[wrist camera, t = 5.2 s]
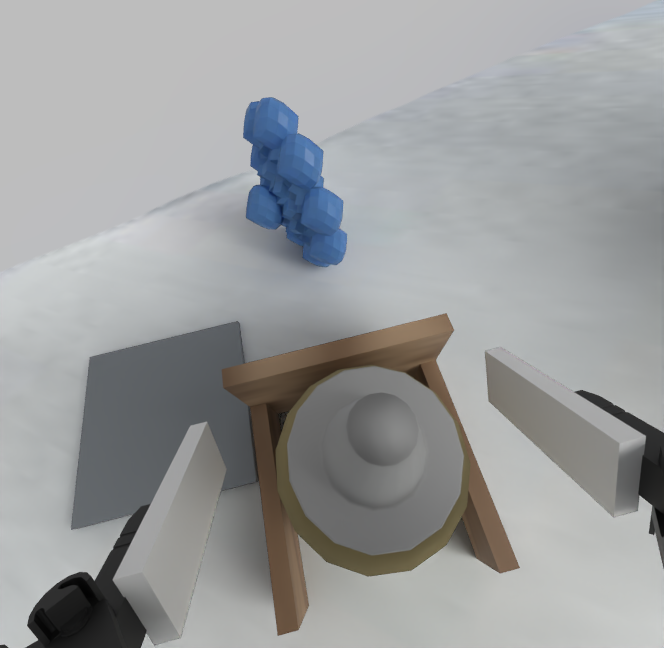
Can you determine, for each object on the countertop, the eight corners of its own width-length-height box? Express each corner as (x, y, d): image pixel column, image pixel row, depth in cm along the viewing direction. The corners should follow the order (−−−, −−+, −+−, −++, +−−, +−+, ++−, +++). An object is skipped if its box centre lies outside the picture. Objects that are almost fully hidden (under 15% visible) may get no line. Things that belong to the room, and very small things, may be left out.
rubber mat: (239, 324, 27) (237, 321, 26) (258, 481, 22) (256, 481, 21) (94, 359, 26) (89, 357, 26) (77, 528, 21) (71, 529, 21)
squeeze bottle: (279, 464, 22) (60, 408, 6) (366, 385, 24) (382, 179, 8) (362, 578, 19) (380, 1116, 3) (454, 476, 21) (778, 451, 5)
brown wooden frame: (420, 363, 24) (446, 313, 17) (493, 554, 19) (574, 596, 12) (262, 403, 24) (221, 369, 17) (291, 610, 19) (249, 689, 11)
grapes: (239, 225, 32) (177, 93, 21) (298, 195, 33) (269, 55, 22) (298, 312, 27) (257, 199, 16) (365, 272, 28) (369, 143, 17)
